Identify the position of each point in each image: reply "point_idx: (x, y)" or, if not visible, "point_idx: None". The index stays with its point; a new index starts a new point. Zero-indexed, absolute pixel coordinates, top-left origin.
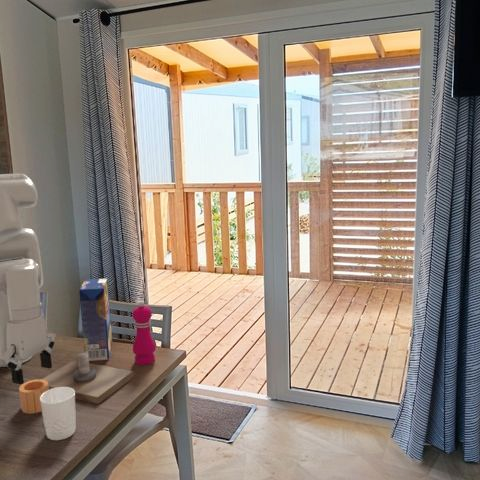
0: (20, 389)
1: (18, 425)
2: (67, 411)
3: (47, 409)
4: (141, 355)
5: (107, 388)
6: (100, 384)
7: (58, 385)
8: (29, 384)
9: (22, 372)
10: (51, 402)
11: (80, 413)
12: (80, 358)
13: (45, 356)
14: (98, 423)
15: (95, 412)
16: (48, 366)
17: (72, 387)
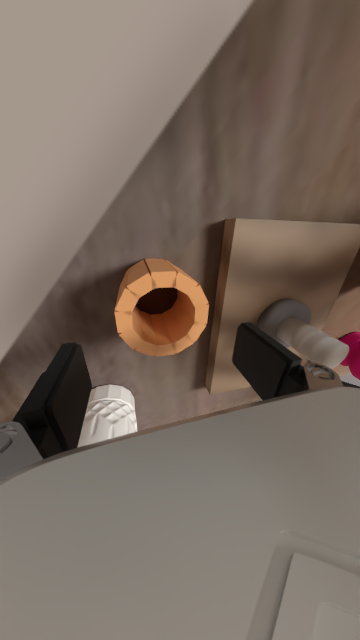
0: (123, 299)
1: (73, 323)
2: None
3: None
4: (350, 366)
5: (240, 386)
6: None
7: (235, 297)
8: (173, 286)
9: (79, 435)
10: (106, 437)
11: (170, 383)
12: (315, 358)
13: (268, 386)
14: (157, 419)
15: (181, 397)
16: (236, 362)
17: (232, 333)
